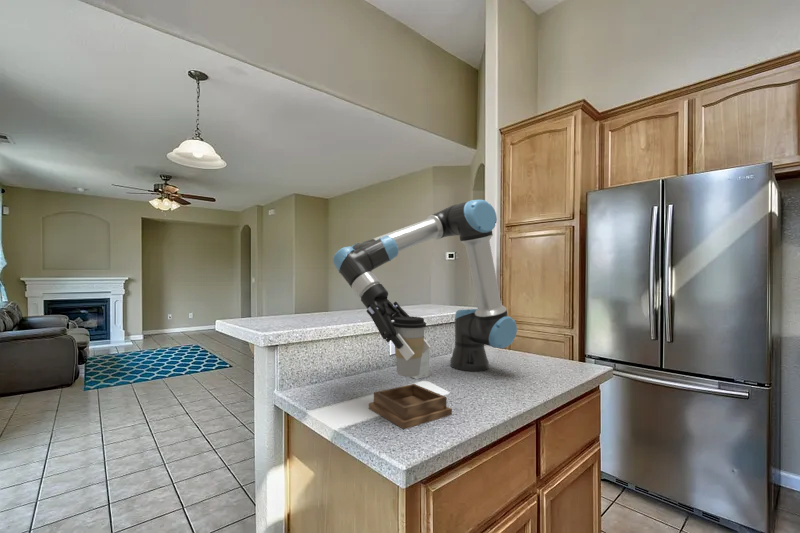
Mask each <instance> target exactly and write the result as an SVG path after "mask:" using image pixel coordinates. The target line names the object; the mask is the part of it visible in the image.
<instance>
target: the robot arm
mask: <svg viewBox="0 0 800 533" xmlns="http://www.w3.org/2000/svg"><path fill="white" fill-rule="evenodd" d="M497 218H498V217H497V212H496V210H495V208H494V207H493V205H492V204H491V203H489V202H488V201H486V200H485V199H472V200H469V201H468V200H467V201H465V202H461V203H457V204H453V205H450V206H448V207H445V208H444V209H441V210H439V211H438V212H435V213H433V214H431V215H430V214H429V215H428V216H427V218H426V219H423V220H421V221H418V222H416V223H412V224H410V225H407V226H405V227H402V228H399V229H396V230H394V231H390V232H387V233H384V234H381V235H379V236H377V237H373V238H371V239H368V240H366V241H362V242H357V243H354V244H352V245H351V246H344V247H342V248H340V249H338V250H337V251H336V252H335V254H334V255H333V258H332V263H333V265H334V266H335V268H336V269H337V270H336V271H338V274H340V275H341V276H342V277H343V280H345V281H346V283H348V285H349V286H350V288H351V289H352V290H353V292H354V294H355V295H356V296H357V297H358V298H359V299H360V301H361V302H362V304H363V305H364V306H365V307H366V313H367V315H369V317H370V318H371V320H372V322H373V323H374V325H375V327H376V329H377V331H378V332H379V334H380V335H381V338H382V339H383V340H385V342H387V343H389V342H390V341H391V342H392V344H393V345H394V347H395V346H396V348H397V349H398V350H399V352H400V353H401V354H402V356H403V357H404V358H405V359H406V361H407V360H409V359H410V358H411V357H412V356H413V355H414V354H415V353H414V352H413V351H412V350H411V348H410V347H409V346H408V344H407V343H406V342H405V341H404V339H403V338H402V337H401V335H400V334H397V333H396V331H395V328H394V326H393V323H392V322H393V321H394V319H395V317H403V316H410V315H409V314H408V313H407V312H406V310H404V308H402V307H401V306H400V304H399V303H398V302H397V301H394V302H393V303H392V302H391V301H390V300H389V299H388V296H389V291H388V290H387V289H386V288H385V287H384V285H383V284H381V281H380V280H379V279H378V278H377V276H376V275H375V274H374V273H373V272H372V271H373V270H375V269H377V268H379V267H381V266H383V265H384V264H387V263H389V262H391V261H392V260H393V259H395V258H396V257H398V256H399V252H402V251H404V250H407V249H410V248H412V247H415V246H417V245H420V244H422V243H425V242H427V241H430V240H432V239H435V240H440V239H442V238H447V237H455V236H459V241H460V243H462V245H464V246H465V249H466V250H465V251H466V256H467V259H468V260H467V261H468V264H469V269H470V274H471V280H472V286H473V290H474V295H475V301H476V306H477V308H471V309H469V308H468V309H458V310H456V311H455V318H454V348H453V351H452V354H451V357H450V360H449V361H450V364H449V365H450V366H451V368H453V369H456V370H459V371H466V372H467V371H468V372H481V371H485V370H488V369H489V368H490V367H489V366H490V365H489V364H490V363H489V362H490V361H489V360H488V357H487V352H486V349H485V346H489V347H492V348H495V349H497V348H498V349H505V348H507V347H509V346H510V345H512V344H513V342H514V340H515V339H516V337H517V332H518V326H517V323H516V319H513V318H512V317H511V316H509V315H508V309H507V306H504V305H503V304H502V301H501V296H500V295H501V294H500V290H499V285H498V280H497V274H496V269H495V264H494V258H493V254H492V247H491V242H490V240H491V239H492V237H493V236H494V234H493V230H494V228H495V227H496V224H497V223H498V222H497ZM396 334H397V335H396ZM426 340H427V339H425V338H424V343H423V353H425V352H426V351H427V350H428V349H429V350H430V348H431V347H432V346H431V345H430V343H429V344H428V343H427V341H426Z"/></svg>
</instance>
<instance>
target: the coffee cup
mask: <svg viewBox="0 0 800 533" xmlns="http://www.w3.org/2000/svg"><path fill="white" fill-rule="evenodd" d="M392 323H393V326H394V328H395V331H396V333H397V334H400V335H401V337H402V338H403V339H404V341H405V342H406V343H407V344H408V346H409V347H410V348H411V350H412V351H413V352H414V353H415V354H414V355H413V356H412V357H411V358H410V359H409V360H407V361H406V359H405V358H404V357H403V356H402V354H401V353H400V352H399V350H398V349H397V348H396V346H395V345H394V352H395V353H394V354H395V361H396V371H397V372H396V373H397V375H398V376H400V377H406V378H407V377H408V378H409V377H410V378H412V377H414V376H417V375H419V372H420V364H421V357H422V352H423V343H424V339H425V328H426V327H427V323H426V321H425V319H424V317H420V316H410V315H409V316H403V317H395V319H394V320H392ZM397 334H396V335H397Z"/></svg>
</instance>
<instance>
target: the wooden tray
mask: <svg viewBox="0 0 800 533" xmlns="http://www.w3.org/2000/svg"><path fill="white" fill-rule="evenodd" d="M368 409H369V410H370V411H372V412H373V413H375V414H378V415H379V416H380V417H382V418H384V419H386V420H387V421H389V422H391V423H393V424H394V425H396V426H397V427H399V428H401V429H403V430H405V429H409V428H412V427H416V426H419V425H422V424H425V423H426V424H427V423H429V422H431V421H435V420H439V419H441V418H445V417H448V416H451V415H452V413H453V412H452V411H453V410H452V408H451V407H449V406H447V396H445V395H442V394H440V393H437V392H434V391H433V390H431V389H427V388H425V387H423V386H420V385H418V384H415V383H411V384H407V385H401V386H398V387H391V388H388V389H383V390H378V391H374V392H373V401H372V402H368Z"/></svg>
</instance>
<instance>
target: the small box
mask: <svg viewBox="0 0 800 533" xmlns="http://www.w3.org/2000/svg"><path fill="white" fill-rule="evenodd" d="M425 340H426V341H427V343H428V344H429V345H430V340H427V339H425ZM427 377H430V348H429V349H428V350H427V351H426V352H425V353H423V352H422V357H421V364H420V372H419V375H417V376H414V377H411V378H412V379H414V380H418V379H423V378H427Z"/></svg>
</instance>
